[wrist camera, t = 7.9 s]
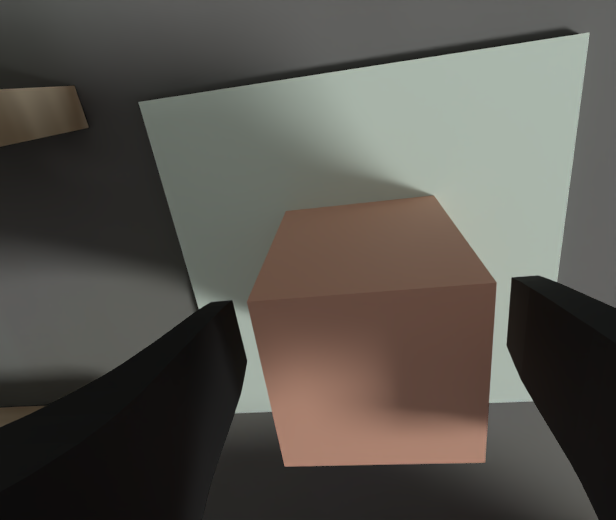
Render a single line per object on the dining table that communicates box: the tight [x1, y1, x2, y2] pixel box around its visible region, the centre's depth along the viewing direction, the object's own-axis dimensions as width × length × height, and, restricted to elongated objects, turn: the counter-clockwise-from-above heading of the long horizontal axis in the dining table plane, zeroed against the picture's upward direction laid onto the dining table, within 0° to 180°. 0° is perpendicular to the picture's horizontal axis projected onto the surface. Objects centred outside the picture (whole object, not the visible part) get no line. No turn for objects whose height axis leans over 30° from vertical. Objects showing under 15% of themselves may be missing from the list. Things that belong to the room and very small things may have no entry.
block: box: [247, 195, 497, 467], centre depth 11 cm, size 4×4×6 cm
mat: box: [138, 33, 590, 413], centre depth 13 cm, size 12×12×1 cm
